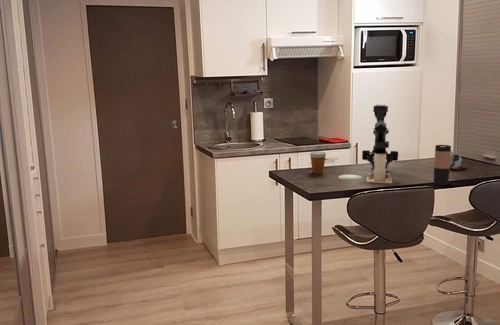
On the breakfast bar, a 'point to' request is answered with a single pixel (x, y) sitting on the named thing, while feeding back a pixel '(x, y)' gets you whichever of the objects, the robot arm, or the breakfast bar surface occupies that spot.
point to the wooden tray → (387, 180)
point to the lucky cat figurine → (456, 161)
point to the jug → (379, 167)
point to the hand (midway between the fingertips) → (379, 168)
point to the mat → (349, 177)
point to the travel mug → (442, 164)
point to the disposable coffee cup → (317, 162)
